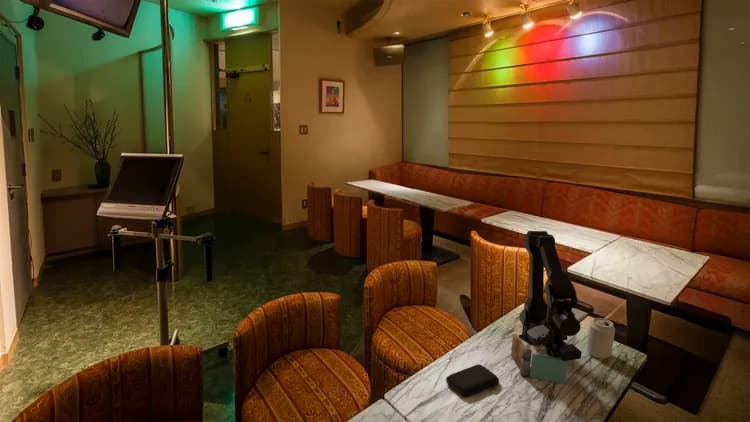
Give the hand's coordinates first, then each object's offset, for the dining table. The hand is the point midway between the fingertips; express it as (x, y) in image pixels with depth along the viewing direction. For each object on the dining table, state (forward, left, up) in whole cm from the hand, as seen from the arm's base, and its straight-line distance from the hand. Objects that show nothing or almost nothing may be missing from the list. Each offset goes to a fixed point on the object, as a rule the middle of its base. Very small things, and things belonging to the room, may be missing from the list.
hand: (551, 364), depth 139 cm
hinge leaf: (+1, -5, -2) cm, 6 cm away
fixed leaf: (-7, -6, -3) cm, 10 cm away
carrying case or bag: (-7, -26, -3) cm, 27 cm away
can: (+1, +22, -3) cm, 23 cm away
